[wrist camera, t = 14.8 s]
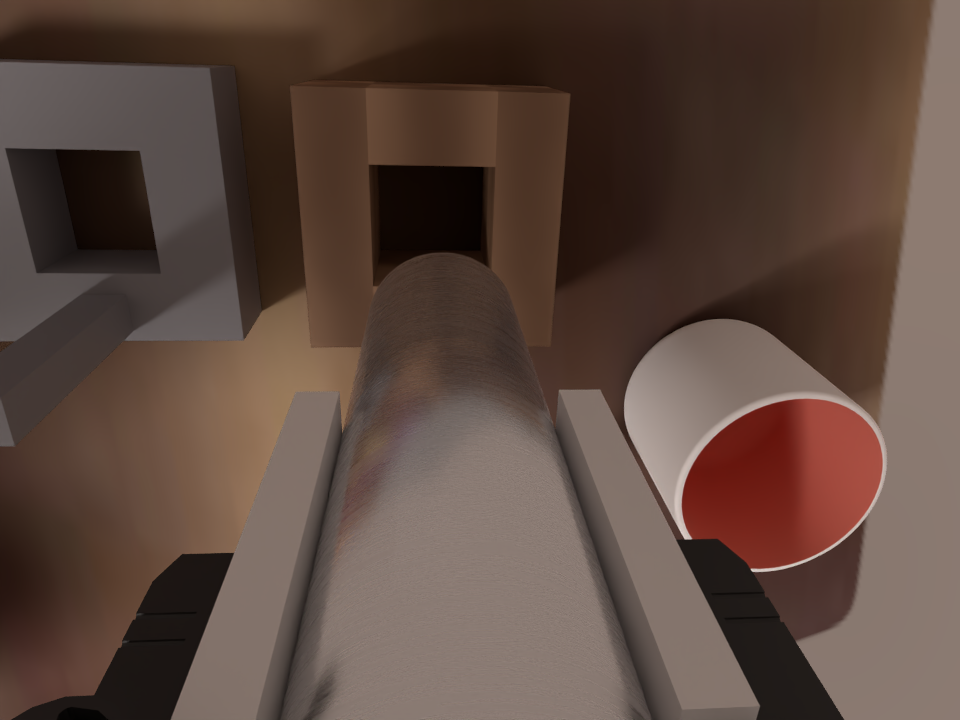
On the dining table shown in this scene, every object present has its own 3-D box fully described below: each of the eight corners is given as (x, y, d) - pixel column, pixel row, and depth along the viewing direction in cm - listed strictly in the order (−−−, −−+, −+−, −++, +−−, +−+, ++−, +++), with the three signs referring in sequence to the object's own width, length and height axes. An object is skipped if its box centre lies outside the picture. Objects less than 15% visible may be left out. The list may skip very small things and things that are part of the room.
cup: (737, 276, 37) (837, 349, 28) (810, 401, 41) (920, 501, 32) (586, 377, 39) (635, 475, 30) (669, 488, 43) (735, 605, 34)
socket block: (25, 311, 35) (-206, 462, 22) (-43, 57, 30) (-391, 63, 17) (261, 311, 36) (172, 456, 23) (234, 65, 31) (101, 77, 18)
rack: (327, 302, 36) (310, 347, 31) (312, 79, 32) (289, 86, 26) (531, 302, 37) (550, 346, 32) (545, 86, 32) (570, 93, 27)
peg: (371, 388, 19) (263, 1050, 7) (365, 251, 18) (206, 782, 5) (511, 388, 20) (667, 1018, 7) (518, 252, 18) (743, 755, 5)
